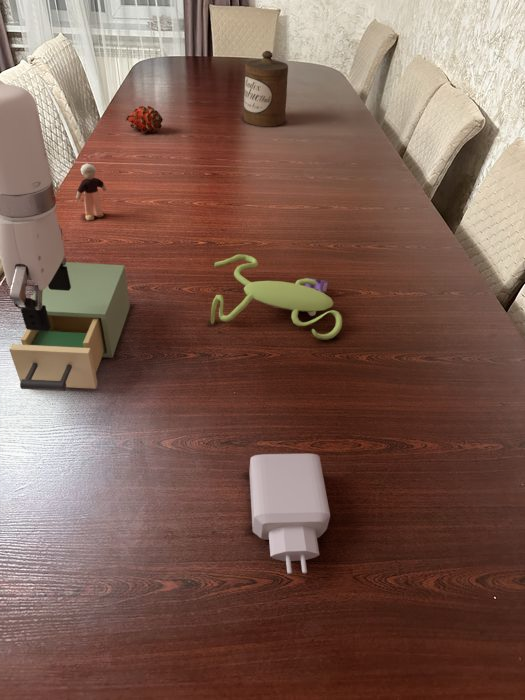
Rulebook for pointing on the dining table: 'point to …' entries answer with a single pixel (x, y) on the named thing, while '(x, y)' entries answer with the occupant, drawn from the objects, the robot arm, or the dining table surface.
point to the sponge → (60, 339)
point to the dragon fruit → (145, 119)
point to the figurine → (280, 296)
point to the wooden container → (265, 91)
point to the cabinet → (93, 298)
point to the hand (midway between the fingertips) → (50, 308)
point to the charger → (289, 505)
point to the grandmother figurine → (90, 192)
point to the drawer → (60, 356)
